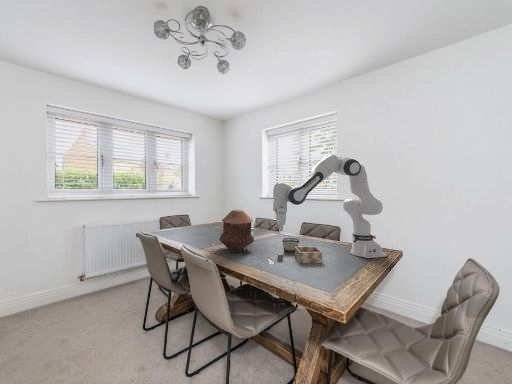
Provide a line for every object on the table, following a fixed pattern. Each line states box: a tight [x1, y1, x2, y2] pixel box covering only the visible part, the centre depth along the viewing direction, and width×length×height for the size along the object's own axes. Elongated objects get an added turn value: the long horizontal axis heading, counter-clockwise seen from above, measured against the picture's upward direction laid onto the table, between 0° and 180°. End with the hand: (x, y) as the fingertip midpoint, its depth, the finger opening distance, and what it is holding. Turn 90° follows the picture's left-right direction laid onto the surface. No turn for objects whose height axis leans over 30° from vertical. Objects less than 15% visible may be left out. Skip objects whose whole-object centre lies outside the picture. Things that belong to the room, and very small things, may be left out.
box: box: [294, 246, 323, 264], centre depth 150 cm, size 14×14×7 cm
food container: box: [281, 237, 301, 254], centre depth 167 cm, size 12×6×10 cm, turn 84°
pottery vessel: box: [218, 209, 255, 253], centre depth 173 cm, size 26×26×30 cm
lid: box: [267, 252, 284, 266], centre depth 149 cm, size 15×15×5 cm
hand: (280, 229), depth 149 cm, fingers open, 8 cm apart
